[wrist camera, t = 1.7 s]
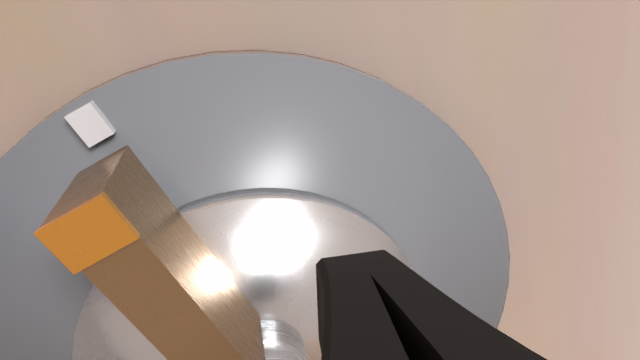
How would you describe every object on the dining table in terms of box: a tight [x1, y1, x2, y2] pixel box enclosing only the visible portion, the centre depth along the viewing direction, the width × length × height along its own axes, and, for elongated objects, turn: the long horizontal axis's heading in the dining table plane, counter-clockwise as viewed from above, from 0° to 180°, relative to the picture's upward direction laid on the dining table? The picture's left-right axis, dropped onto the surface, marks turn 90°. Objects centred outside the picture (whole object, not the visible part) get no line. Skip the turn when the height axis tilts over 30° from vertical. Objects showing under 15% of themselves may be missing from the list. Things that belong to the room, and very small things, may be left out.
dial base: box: [0, 50, 510, 360], centre depth 17 cm, size 20×20×1 cm
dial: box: [34, 145, 414, 360], centre depth 14 cm, size 14×12×4 cm
